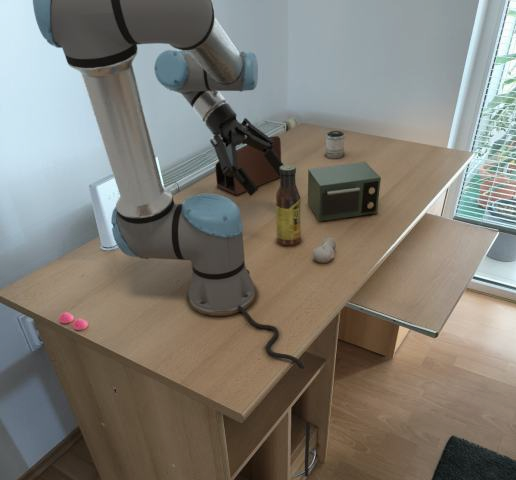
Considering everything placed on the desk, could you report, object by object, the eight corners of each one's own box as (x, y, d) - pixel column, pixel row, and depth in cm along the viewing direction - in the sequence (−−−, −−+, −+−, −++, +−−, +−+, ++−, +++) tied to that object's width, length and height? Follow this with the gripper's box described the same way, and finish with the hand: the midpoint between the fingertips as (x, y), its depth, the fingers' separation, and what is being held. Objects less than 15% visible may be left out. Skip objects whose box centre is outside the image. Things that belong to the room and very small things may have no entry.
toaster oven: (380, 218, 142) (384, 180, 135) (321, 227, 140) (322, 189, 133) (362, 197, 153) (365, 161, 146) (307, 205, 151) (308, 168, 144)
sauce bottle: (298, 247, 133) (298, 173, 120) (275, 246, 134) (272, 172, 121) (302, 235, 138) (302, 162, 125) (279, 234, 139) (277, 162, 126)
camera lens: (325, 152, 182) (326, 129, 177) (343, 152, 182) (344, 129, 176) (325, 158, 178) (326, 135, 173) (343, 158, 177) (344, 135, 172)
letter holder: (282, 176, 168) (281, 133, 159) (236, 196, 158) (232, 150, 149) (262, 169, 174) (260, 126, 165) (216, 187, 164) (211, 143, 155)
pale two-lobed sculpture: (324, 270, 126) (307, 260, 127) (339, 255, 131) (322, 245, 132) (330, 257, 123) (312, 247, 124) (344, 242, 127) (327, 232, 128)
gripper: (190, 117, 115) (249, 193, 118) (252, 88, 130) (302, 156, 133) (176, 138, 121) (233, 209, 124) (236, 108, 136) (285, 172, 139)
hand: (269, 182), depth 128 cm, fingers open, 13 cm apart
